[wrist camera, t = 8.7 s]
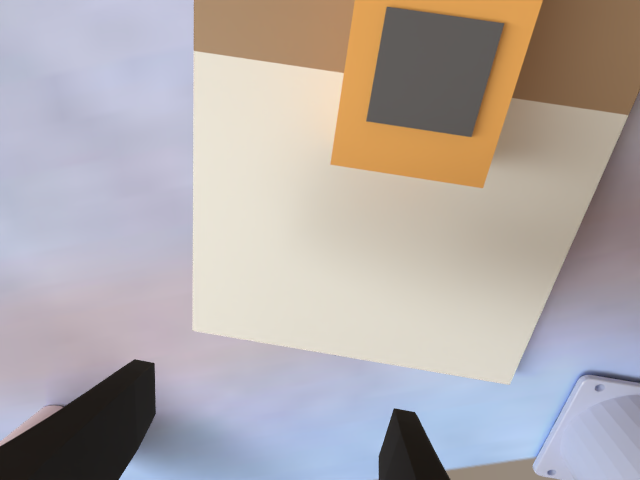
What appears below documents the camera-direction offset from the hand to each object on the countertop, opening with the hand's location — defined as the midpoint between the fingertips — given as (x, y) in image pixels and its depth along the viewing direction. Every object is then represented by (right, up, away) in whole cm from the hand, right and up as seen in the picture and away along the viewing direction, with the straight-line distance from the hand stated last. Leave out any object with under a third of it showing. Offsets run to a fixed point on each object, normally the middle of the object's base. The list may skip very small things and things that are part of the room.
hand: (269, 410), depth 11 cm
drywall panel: (+5, +9, +6) cm, 12 cm away
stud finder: (+5, +13, +4) cm, 14 cm away
